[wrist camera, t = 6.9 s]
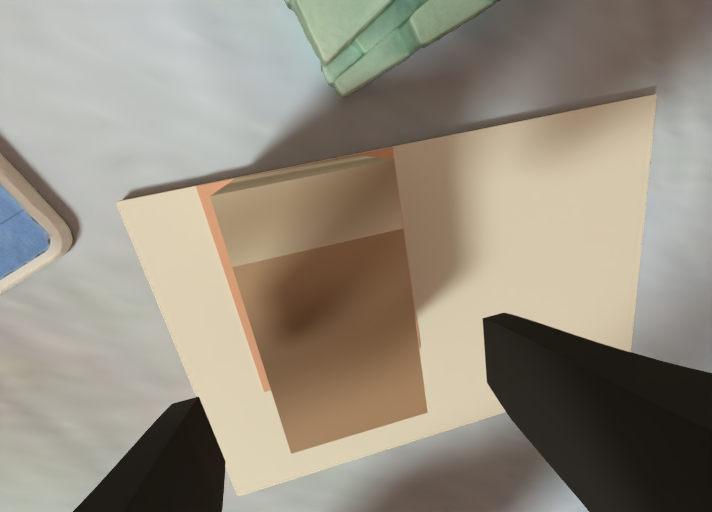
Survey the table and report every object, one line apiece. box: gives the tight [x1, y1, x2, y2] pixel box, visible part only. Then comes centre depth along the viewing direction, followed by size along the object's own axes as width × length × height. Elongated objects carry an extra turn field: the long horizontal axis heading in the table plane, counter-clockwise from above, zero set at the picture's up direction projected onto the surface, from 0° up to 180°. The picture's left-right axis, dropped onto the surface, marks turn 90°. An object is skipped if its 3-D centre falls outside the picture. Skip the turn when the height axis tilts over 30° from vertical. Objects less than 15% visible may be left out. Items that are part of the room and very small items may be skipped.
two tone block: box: [210, 155, 428, 454], centre depth 13 cm, size 9×5×5 cm, turn 10°
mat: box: [116, 94, 657, 496], centre depth 18 cm, size 24×16×1 cm, turn 100°
